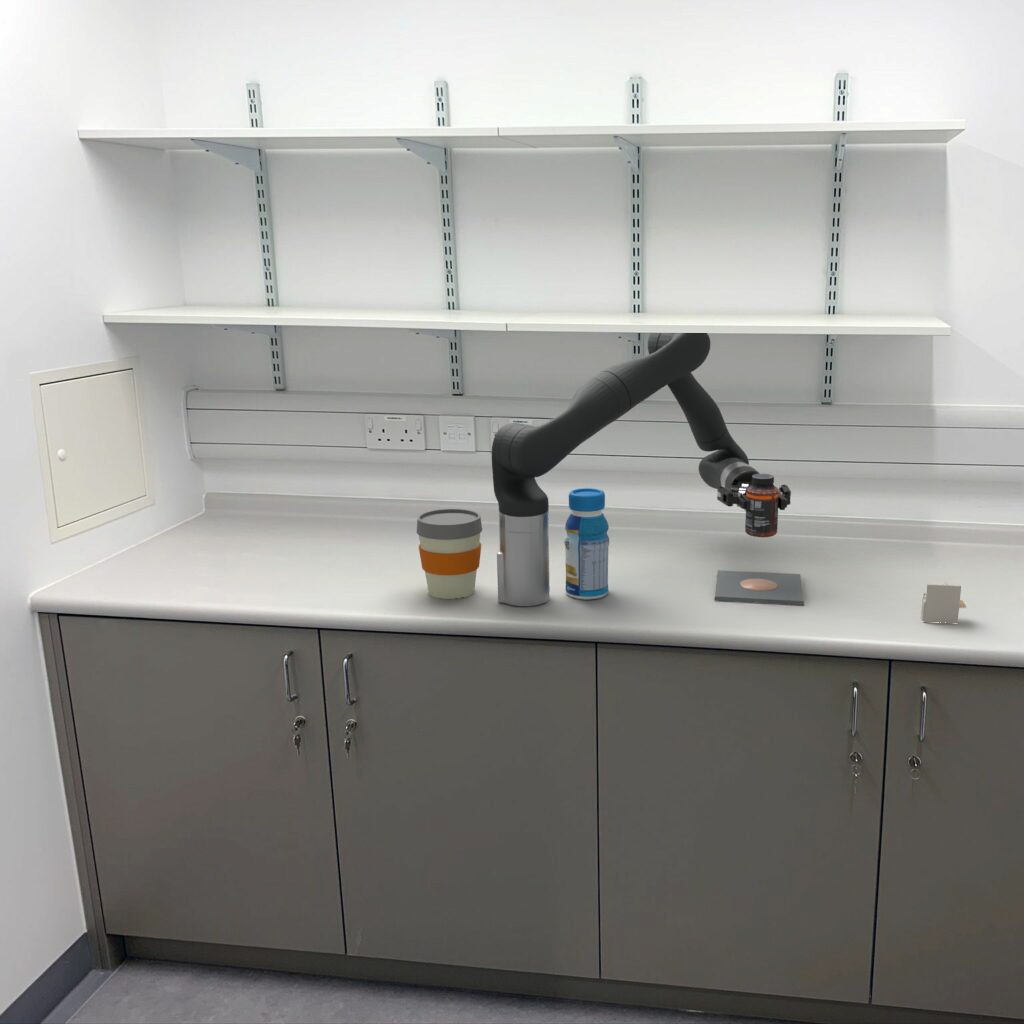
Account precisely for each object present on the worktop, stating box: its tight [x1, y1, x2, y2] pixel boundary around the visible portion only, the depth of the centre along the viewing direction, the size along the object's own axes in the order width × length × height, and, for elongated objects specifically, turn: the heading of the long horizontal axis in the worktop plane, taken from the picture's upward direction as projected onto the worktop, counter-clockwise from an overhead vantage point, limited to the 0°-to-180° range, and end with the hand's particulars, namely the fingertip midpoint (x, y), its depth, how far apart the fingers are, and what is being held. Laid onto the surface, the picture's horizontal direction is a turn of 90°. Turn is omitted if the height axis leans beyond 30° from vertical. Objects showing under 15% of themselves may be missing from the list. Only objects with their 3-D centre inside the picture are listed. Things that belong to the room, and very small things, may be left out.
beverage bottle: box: [563, 487, 610, 601], centre depth 198 cm, size 8×8×20 cm
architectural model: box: [920, 581, 967, 623], centre depth 182 cm, size 3×7×7 cm, turn 79°
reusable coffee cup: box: [416, 508, 483, 600], centre depth 201 cm, size 13×13×15 cm
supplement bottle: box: [744, 473, 779, 538], centre depth 197 cm, size 6×6×11 cm
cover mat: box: [714, 569, 805, 606], centre depth 201 cm, size 16×16×1 cm
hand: (765, 505), depth 194 cm, fingers closed on supplement bottle, 6 cm apart
